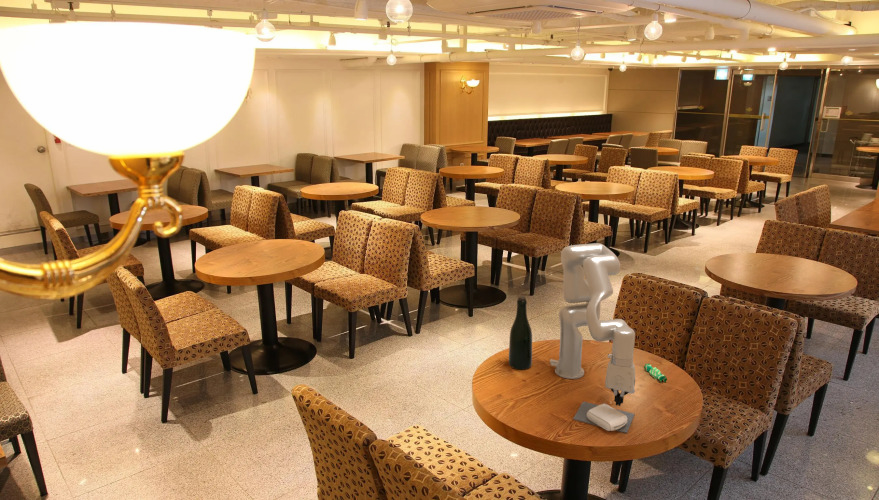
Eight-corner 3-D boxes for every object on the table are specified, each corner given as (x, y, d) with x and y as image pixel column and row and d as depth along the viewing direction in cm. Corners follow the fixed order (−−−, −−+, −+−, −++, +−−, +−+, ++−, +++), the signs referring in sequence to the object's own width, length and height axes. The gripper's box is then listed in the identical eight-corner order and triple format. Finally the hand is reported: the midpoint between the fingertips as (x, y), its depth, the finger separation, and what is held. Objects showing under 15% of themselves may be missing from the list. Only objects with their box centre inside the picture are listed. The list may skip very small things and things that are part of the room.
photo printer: (605, 401, 227) (631, 416, 217) (604, 411, 228) (630, 426, 218) (586, 409, 222) (611, 424, 212) (585, 419, 223) (611, 435, 213)
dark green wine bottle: (504, 366, 266) (505, 298, 257) (515, 357, 275) (516, 291, 265) (525, 372, 261) (527, 303, 251) (535, 363, 269) (538, 295, 260)
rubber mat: (573, 419, 224) (573, 418, 224) (583, 402, 236) (583, 401, 236) (627, 433, 215) (627, 432, 215) (634, 414, 227) (634, 413, 227)
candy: (642, 369, 261) (647, 361, 260) (647, 372, 262) (652, 364, 261) (657, 382, 250) (663, 374, 249) (663, 385, 251) (668, 377, 250)
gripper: (599, 359, 216) (596, 404, 221) (641, 368, 209) (637, 413, 215) (604, 351, 223) (601, 394, 228) (645, 359, 216) (641, 404, 221)
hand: (618, 404), depth 221 cm, fingers closed
